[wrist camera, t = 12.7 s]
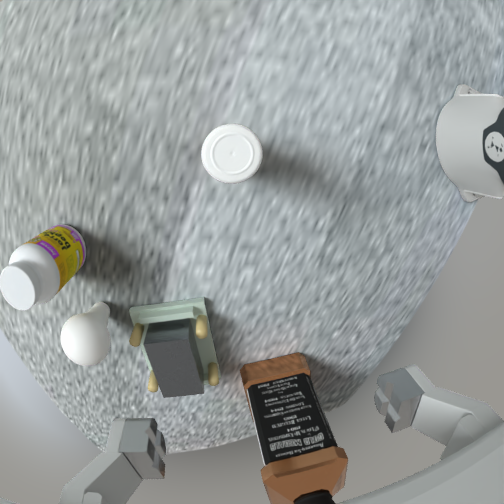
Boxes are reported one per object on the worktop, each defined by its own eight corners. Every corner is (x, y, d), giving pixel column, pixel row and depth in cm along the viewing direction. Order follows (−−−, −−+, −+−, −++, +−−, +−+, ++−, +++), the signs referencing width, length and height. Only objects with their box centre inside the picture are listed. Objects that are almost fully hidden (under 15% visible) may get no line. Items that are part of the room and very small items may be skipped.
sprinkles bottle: (250, 158, 35) (275, 164, 23) (217, 179, 36) (222, 196, 23) (230, 125, 34) (243, 111, 21) (196, 146, 34) (189, 144, 21)
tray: (203, 297, 40) (203, 315, 36) (220, 372, 44) (222, 394, 40) (130, 307, 39) (123, 325, 35) (156, 380, 43) (153, 401, 39)
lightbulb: (114, 333, 40) (94, 384, 30) (77, 312, 38) (48, 358, 28) (131, 301, 39) (111, 350, 29) (92, 278, 37) (60, 321, 27)
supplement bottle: (92, 231, 35) (47, 270, 23) (83, 278, 37) (43, 329, 25) (48, 216, 34) (-7, 247, 22) (41, 262, 35) (-8, 305, 23)
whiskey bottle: (307, 396, 49) (375, 561, 19) (250, 409, 48) (289, 586, 18) (303, 350, 45) (393, 543, 15) (238, 365, 44) (281, 577, 14)
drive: (189, 317, 39) (188, 338, 35) (203, 369, 42) (204, 393, 38) (149, 322, 39) (143, 344, 34) (166, 374, 42) (163, 397, 37)
